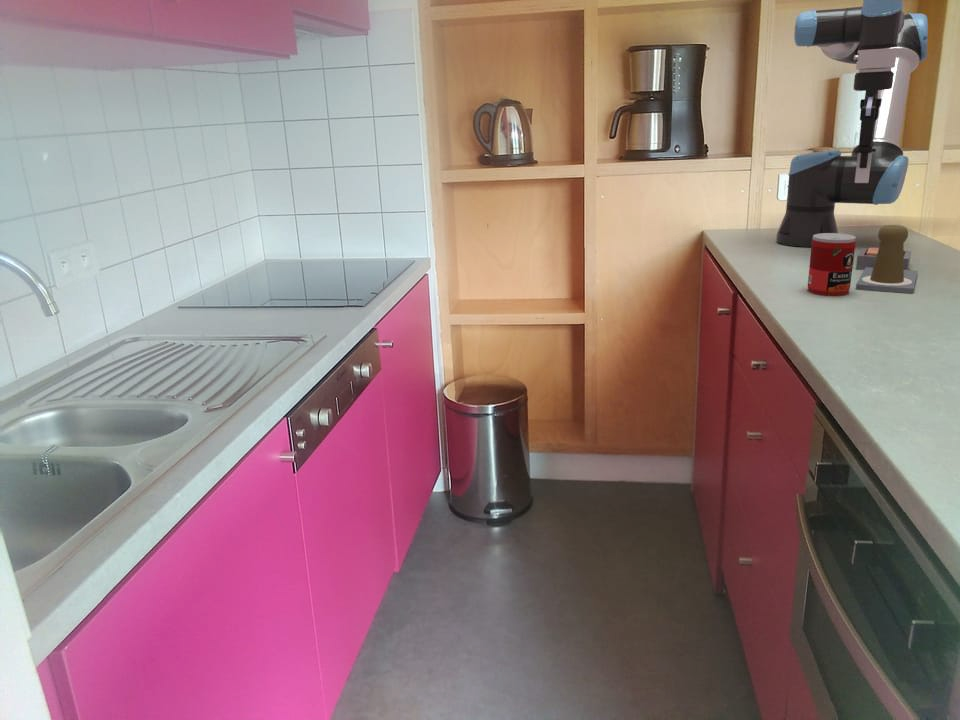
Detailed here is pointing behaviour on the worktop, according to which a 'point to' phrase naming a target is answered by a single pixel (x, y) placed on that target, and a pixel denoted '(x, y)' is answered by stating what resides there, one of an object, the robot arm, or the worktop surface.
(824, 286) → the canned food
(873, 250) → the button
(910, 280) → the slate board
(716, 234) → the worktop surface
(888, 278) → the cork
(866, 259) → the button housing
